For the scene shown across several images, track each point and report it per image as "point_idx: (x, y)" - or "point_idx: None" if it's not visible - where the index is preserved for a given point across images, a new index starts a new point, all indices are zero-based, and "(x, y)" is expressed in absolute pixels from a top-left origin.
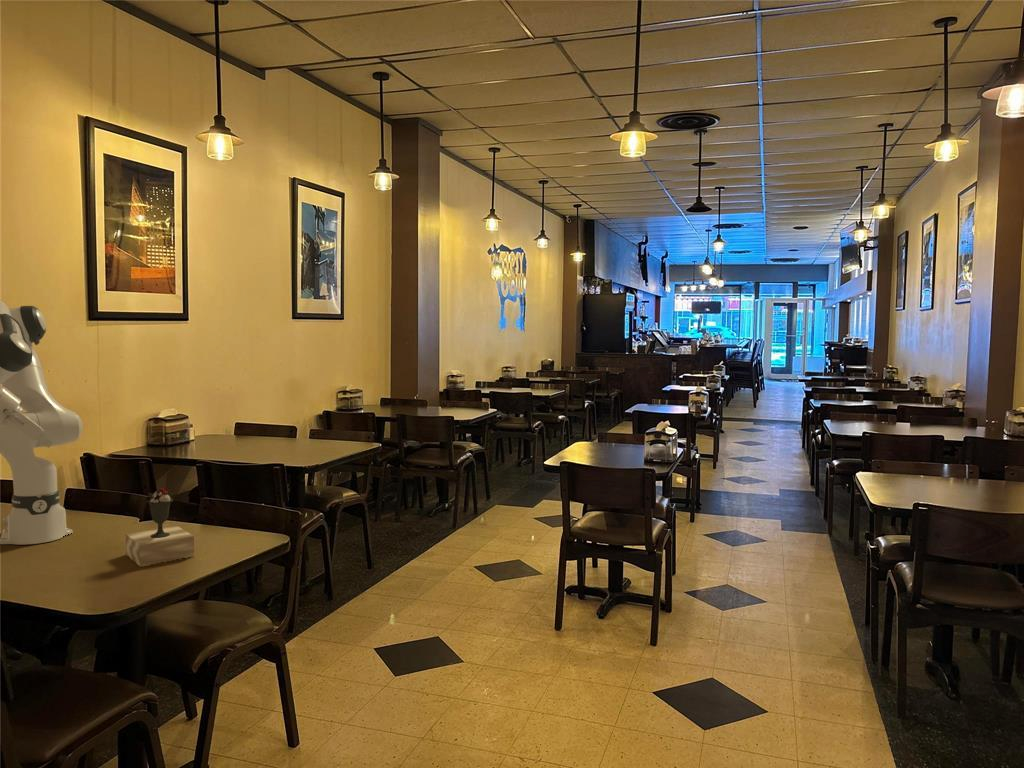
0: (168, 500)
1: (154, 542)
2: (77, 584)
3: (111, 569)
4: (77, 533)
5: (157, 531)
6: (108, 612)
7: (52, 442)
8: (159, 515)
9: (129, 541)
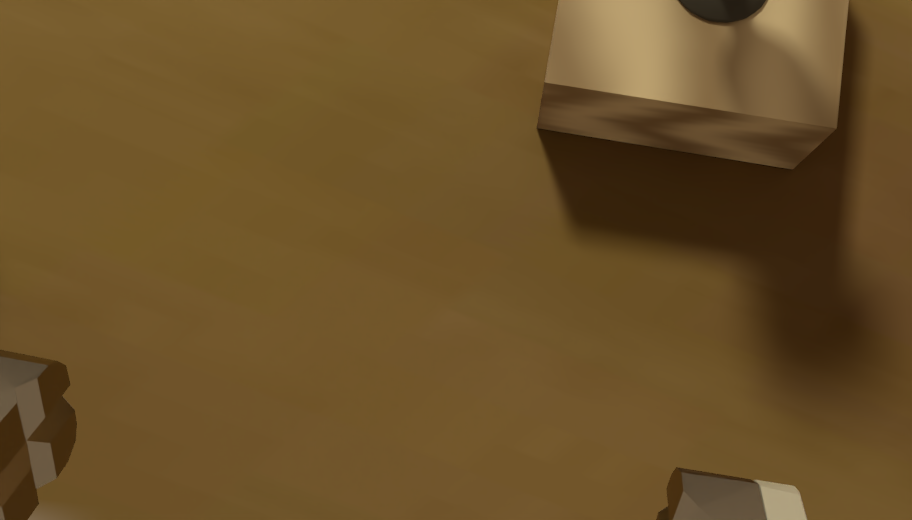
0: None
1: (842, 58)
2: (857, 483)
3: (730, 276)
4: None
5: None
6: None
7: (800, 502)
8: None
9: (617, 105)
